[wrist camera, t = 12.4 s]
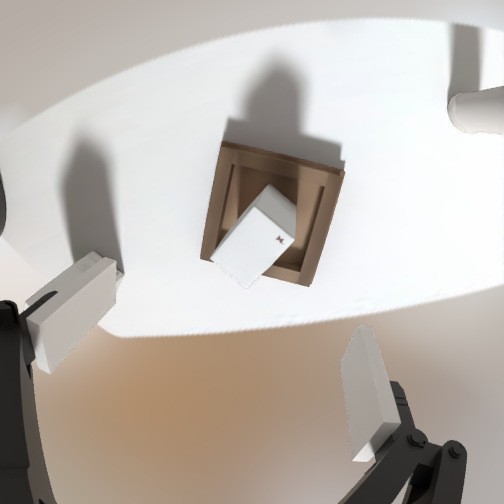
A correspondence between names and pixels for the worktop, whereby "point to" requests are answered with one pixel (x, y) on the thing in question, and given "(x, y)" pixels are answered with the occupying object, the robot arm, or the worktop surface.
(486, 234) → the worktop surface
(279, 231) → the skincare box
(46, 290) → the skincare box
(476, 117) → the bottle
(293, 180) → the brown square tray
